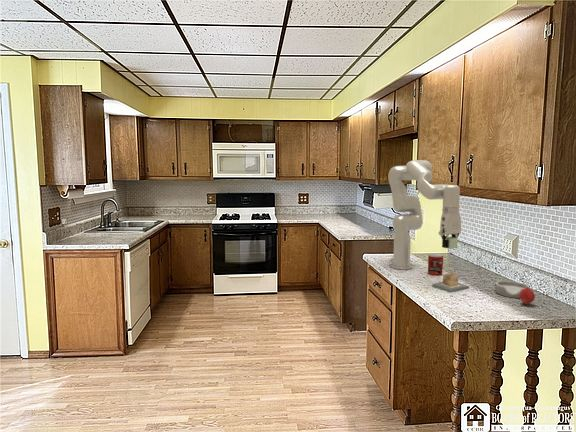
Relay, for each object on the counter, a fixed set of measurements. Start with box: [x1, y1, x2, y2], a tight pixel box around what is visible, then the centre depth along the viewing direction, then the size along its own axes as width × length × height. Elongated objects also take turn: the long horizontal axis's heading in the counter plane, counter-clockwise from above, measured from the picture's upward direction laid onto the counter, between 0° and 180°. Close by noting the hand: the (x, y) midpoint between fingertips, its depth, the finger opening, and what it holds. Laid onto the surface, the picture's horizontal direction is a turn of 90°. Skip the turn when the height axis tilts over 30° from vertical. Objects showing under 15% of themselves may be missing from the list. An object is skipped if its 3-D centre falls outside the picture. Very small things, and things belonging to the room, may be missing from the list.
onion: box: [519, 286, 536, 305], centre depth 171 cm, size 6×6×8 cm
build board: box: [431, 281, 470, 293], centre depth 196 cm, size 11×13×1 cm
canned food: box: [427, 252, 444, 277], centre depth 221 cm, size 8×8×11 cm
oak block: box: [442, 272, 459, 287], centre depth 196 cm, size 5×5×5 cm
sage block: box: [441, 236, 459, 250], centre depth 196 cm, size 5×5×5 cm
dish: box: [493, 280, 531, 299], centre depth 186 cm, size 14×14×5 cm
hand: (449, 246), depth 196 cm, fingers closed on sage block, 5 cm apart
